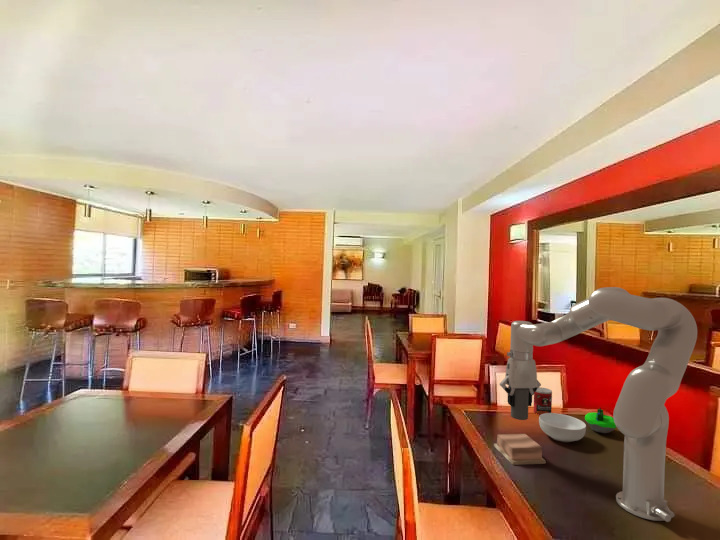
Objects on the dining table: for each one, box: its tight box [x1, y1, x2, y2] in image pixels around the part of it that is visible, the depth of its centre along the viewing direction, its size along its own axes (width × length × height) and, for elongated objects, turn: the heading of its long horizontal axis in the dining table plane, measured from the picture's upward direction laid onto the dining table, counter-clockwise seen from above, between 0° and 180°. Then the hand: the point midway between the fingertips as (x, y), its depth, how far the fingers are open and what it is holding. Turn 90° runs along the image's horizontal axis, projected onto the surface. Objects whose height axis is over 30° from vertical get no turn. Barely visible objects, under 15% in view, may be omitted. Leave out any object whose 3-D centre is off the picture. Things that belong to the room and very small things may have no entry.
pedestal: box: [493, 433, 547, 466], centre depth 142 cm, size 14×12×5 cm
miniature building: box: [584, 407, 617, 434], centre depth 164 cm, size 12×12×11 cm
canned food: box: [533, 386, 553, 416], centre depth 184 cm, size 8×8×11 cm
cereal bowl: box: [538, 412, 587, 443], centre depth 157 cm, size 17×17×7 cm
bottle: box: [510, 388, 529, 421], centre depth 142 cm, size 6×6×15 cm
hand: (519, 404), depth 142 cm, fingers closed on bottle, 5 cm apart
